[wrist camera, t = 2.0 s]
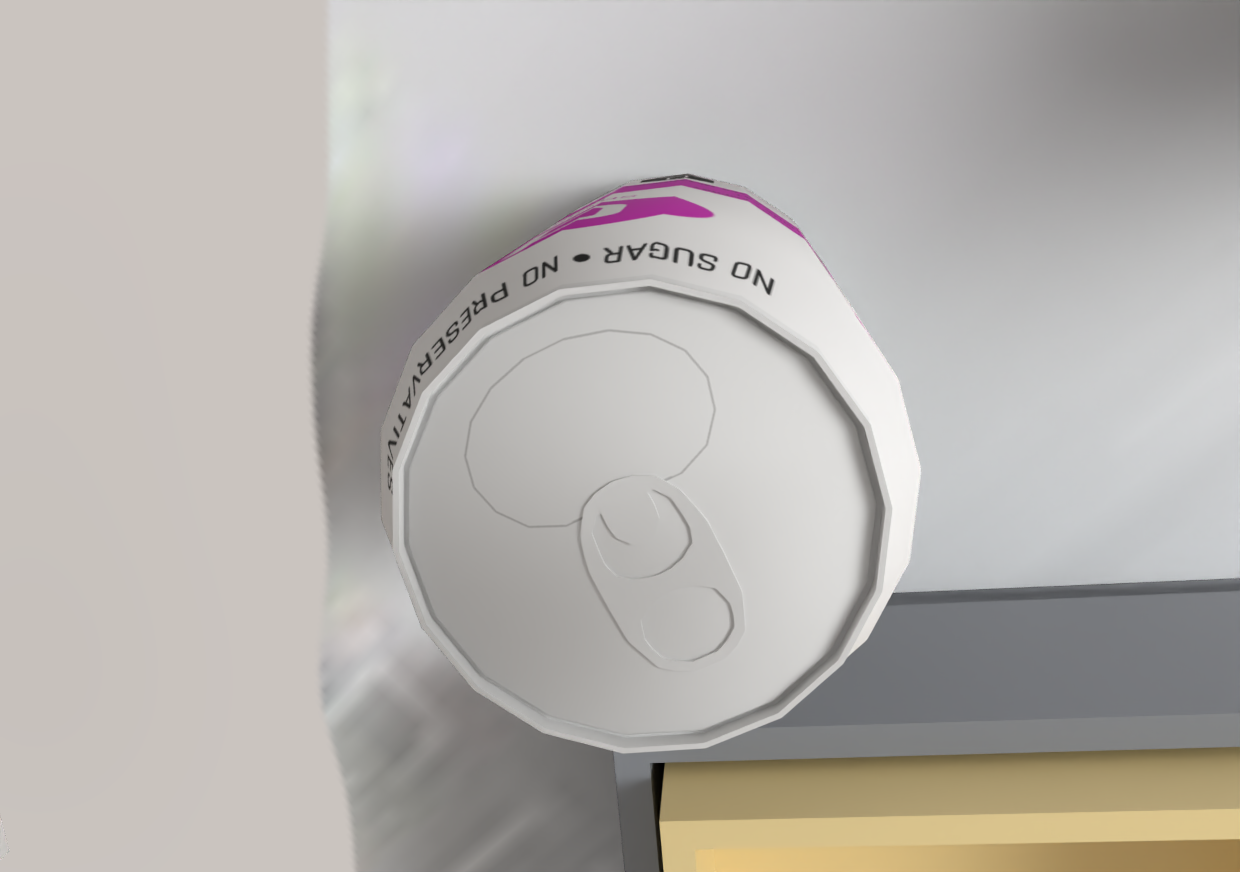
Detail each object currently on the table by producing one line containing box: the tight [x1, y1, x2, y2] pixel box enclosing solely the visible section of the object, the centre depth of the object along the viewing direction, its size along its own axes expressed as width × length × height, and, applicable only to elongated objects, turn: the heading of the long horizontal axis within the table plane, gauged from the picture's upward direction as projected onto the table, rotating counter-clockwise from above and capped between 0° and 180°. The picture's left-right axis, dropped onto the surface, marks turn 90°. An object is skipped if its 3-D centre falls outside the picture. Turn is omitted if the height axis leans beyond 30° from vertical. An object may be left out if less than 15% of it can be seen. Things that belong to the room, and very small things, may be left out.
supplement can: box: [381, 174, 921, 754], centre depth 23 cm, size 8×8×15 cm
